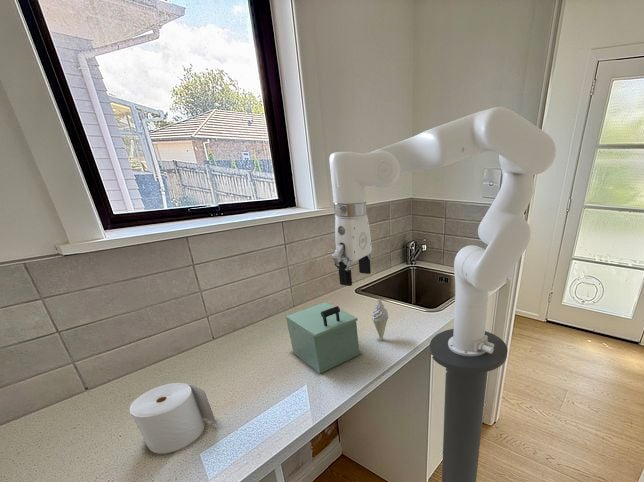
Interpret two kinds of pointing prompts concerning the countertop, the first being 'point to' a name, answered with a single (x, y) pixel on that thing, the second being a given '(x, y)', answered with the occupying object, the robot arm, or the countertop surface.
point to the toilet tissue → (171, 416)
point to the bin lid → (321, 319)
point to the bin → (324, 346)
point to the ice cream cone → (380, 318)
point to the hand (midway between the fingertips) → (356, 278)
